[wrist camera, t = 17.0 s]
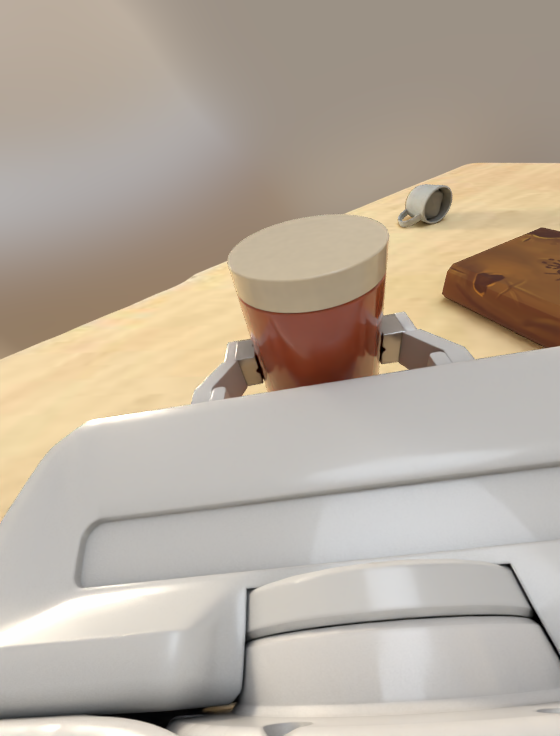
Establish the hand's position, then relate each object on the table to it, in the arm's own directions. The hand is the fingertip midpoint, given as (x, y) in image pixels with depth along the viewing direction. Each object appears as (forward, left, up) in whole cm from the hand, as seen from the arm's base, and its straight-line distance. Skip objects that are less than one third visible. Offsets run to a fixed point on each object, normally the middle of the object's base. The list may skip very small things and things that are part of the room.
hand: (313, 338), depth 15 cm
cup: (-1, 0, -6) cm, 6 cm away
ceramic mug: (+72, +5, -19) cm, 74 cm away
